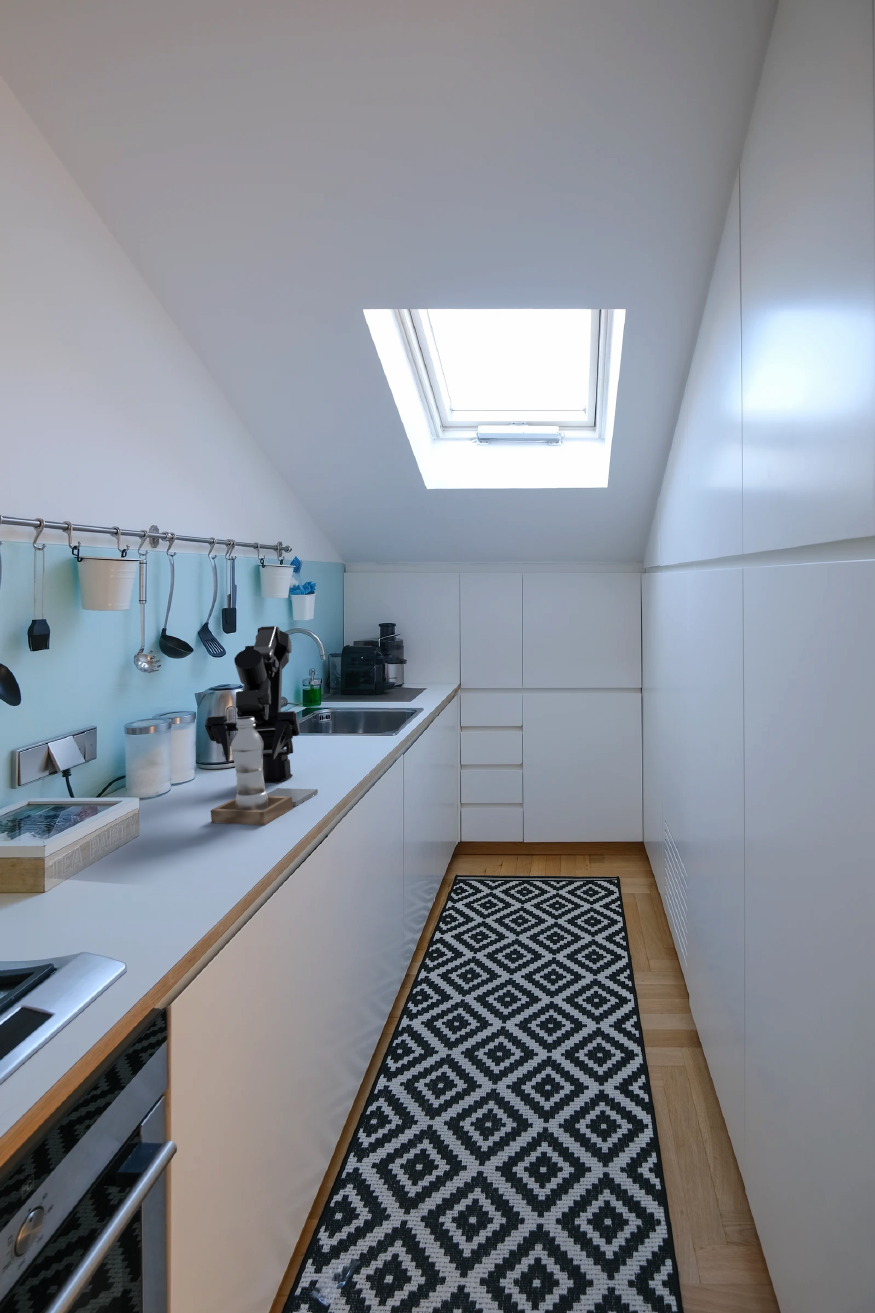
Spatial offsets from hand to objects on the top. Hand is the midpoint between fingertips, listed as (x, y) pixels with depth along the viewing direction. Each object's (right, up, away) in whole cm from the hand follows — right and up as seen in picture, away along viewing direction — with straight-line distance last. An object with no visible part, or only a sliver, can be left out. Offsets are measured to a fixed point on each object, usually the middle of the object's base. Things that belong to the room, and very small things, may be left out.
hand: (250, 759), depth 153 cm
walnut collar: (+1, -11, 0) cm, 11 cm away
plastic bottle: (+1, -11, 0) cm, 11 cm away
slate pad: (+5, -10, +11) cm, 15 cm away
